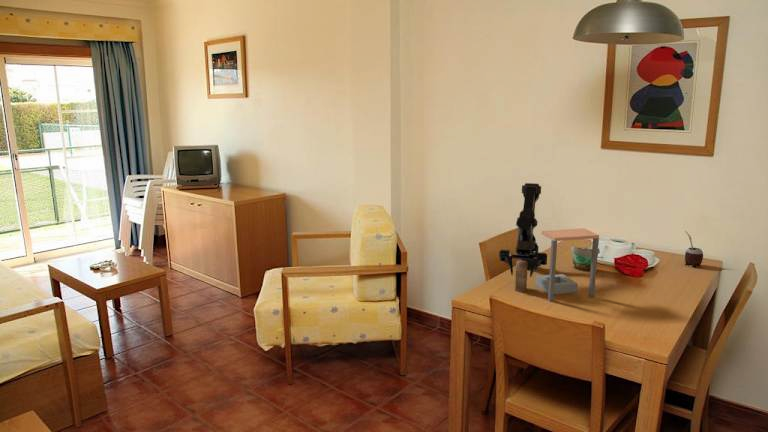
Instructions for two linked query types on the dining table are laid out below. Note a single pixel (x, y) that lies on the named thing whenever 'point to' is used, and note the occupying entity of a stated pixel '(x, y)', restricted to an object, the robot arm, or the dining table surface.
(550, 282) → the small table
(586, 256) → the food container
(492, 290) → the dining table surface
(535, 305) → the dining table surface
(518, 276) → the peg
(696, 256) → the mate gourd
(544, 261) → the robot arm
